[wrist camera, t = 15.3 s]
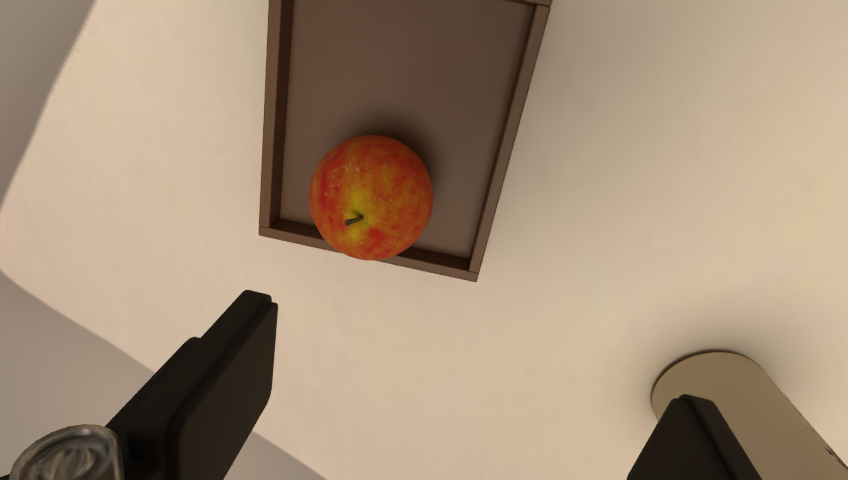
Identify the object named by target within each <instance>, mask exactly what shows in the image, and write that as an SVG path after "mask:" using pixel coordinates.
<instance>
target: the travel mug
mask: <svg viewBox="0 0 848 480" xmlns="http://www.w3.org/2000/svg"><path fill="white" fill-rule="evenodd" d="M682 394H688V395H693V396H697V397H701V398H705V399H709V400H711V401H713V402H714V403H715V404H716V406H717V408H718V409H719V411H720V412H721V414H722V416H723V417H724V419H725V420H726V422H727V424H728V425H729V427H730V428H731V430H732V432H733V433H734V435H735V437H736V438H737V440H738V441H739V443H740V445H741V446H742V448H743V449H744V451H745V453H746V454H747V456H748V457H749V459H750V461H751V462H752V464H753V465H754V467H755V469H756V470H757V472H758V474H759V475H760V477H761V478H762V480H848V467H847V466H846V465H845V464H844V463H843V461H842V460H841V459H840V458H839V457H838V456H837V455H836V453H835V452H834V451H833V450H832V449H831V448H830V447H829V445H828V444H827V443H826V442H825V441H824V440H823V438H822V437H821V436H820V435H819V434H818V433H817V432H816V430H815V429H814V428H813V427H812V426H811V425H810V423H809V422H808V421H807V420H806V419H805V418H804V417H803V415H802V414H801V413H800V412H799V411H798V410H797V408H796V407H795V406H794V405H793V404H792V403H791V402H790V400H789V399H788V398H787V397H786V396H785V395H784V393H783V392H782V391H781V390H780V389H779V388H778V387H777V385H776V384H775V383H774V382H773V381H772V380H771V379H770V377H769V376H768V375H767V374H766V373H765V372H764V370H763V369H762V368H761V367H760V366H759V365H758V364H756V363H755V362H753V361H752V360H750V359H748V358H746V357H743V356H741V355H737V354H732V353H725V352H714V353H705V354H700V355H696V356H693V357H690V358H688V359H685V360H683V361H681V362H679V363H678V364H676V365H674V366H673V367H672V368H670V369H669V370H668V371H667V372H666V373H665V374H664V375H663V376H662V377H661V378H660V380H659V381H658V383H657V384H656V386H655V388H654V391H653V395H652V408H653V411H654V414H655V416H656V418H657V420H658V422H659V420H660V418H661V417H662V415H663V413H664V411H665V410H666V408H667V406H668V404H669V403H670V401H671V400H672V399H674V398H679V396H681V395H682Z"/></svg>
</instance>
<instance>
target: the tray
mask: <svg viewBox="0 0 848 480" xmlns="http://www.w3.org/2000/svg"><path fill="white" fill-rule="evenodd" d="M552 1H553V0H269V13H268V36H267V58H266V80H265V103H264V125H263V147H262V170H261V192H260V214H259V225H260V226H259V235H260V236H264V237H269V238H274V239H278V240H283V241H287V242H292V243H297V244H301V245H306V246H311V247H315V248H320V249H324V250H329V251H334V252H338V253H341V252H339V251H338V250H336V249H334V248H333V247H332V246H331V245H329V244H328V243H327V242H326V240H325V239H324V238H323V237H322V235H321V233H320V232H319V230H318V228H317V226H316V224H315V223H314V220H313V218H312V215H311V213H310V208H309V188H310V182H311V179H312V176H313V173H314V171H315V169H316V167H317V166H318V164H319V162H320V161H321V160H322V158H323V157H324V156H325V155H326V154H327V153H328V152H329V151H330V150H331V149H332V148H333V147H335V146H336V145H338V144H340V143H341V142H343V141H345V140H348V139H350V138H353V137H357V136H362V135H379V136H385V137H389V138H392V139H395V140H397V141H399V142H401V143H403V144H404V145H406V146H407V147H409V148H410V149H411V150H412V151H413V152H414V153H415V154H417V156H418V157H419V158H420V159H421V161H422V162H423V164H424V165H425V167H426V169H427V171H428V173H429V176H430V178H431V182H432V186H433V196H434V201H433V209H432V213H431V216H430V220H429V222H428V224H427V226H426V228H425V230H424V231H423V233H422V234H421V236H420V237H419V238H418V239H417V240H416V241H415V242H414V243H413V244H412V245H411V246H410V247H408V248H407V249H406V250H404V251H403V252H401V253H399V254H397V255H395V256H393V257H390V258H386V259H381V260H375V261H380V262H385V263H389V264H394V265H398V266H403V267H408V268H412V269H417V270H422V271H426V272H431V273H435V274H440V275H445V276H449V277H454V278H459V279H463V280H468V281H472V282H476V281H477V278H478V275H479V271H480V267H481V263H482V260H483V256H484V252H485V249H486V245H487V241H488V238H489V234H490V230H491V226H492V223H493V219H494V215H495V212H496V208H497V204H498V201H499V197H500V193H501V189H502V186H503V182H504V178H505V175H506V171H507V167H508V163H509V160H510V156H511V152H512V149H513V145H514V141H515V138H516V134H517V130H518V126H519V123H520V119H521V115H522V112H523V108H524V104H525V101H526V97H527V93H528V89H529V86H530V82H531V78H532V75H533V71H534V67H535V63H536V60H537V56H538V52H539V49H540V45H541V41H542V38H543V34H544V30H545V26H546V23H547V19H548V15H549V12H550V6H551V4H552Z"/></svg>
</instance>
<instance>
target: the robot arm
mask: <svg viewBox="0 0 848 480" xmlns="http://www.w3.org/2000/svg"><path fill="white" fill-rule="evenodd" d="M277 314H278V305H277V303H274V302H272V299H271V296H270V295H267V294H263V293H259V292H255V291H251V290H245V291H243V292H242V293H241V294H240V296H239V297H238V298H237V299H236V300H235V301H234V302H233V303H232V304H231V305H230V306H229V308H228V309H227V310H226V311H225V312H224V313H223V314H222V315H221V316H220V317H219V318H218V320H217V321H216V322H215V323H214V324H213V325H212V326H211V327H210V328H209V329H208V331H207V332H206V333H205V334H204V335H203V336H202V337H201V338H198V337H192V338H190V339H189V340H187V341H186V342H185V343H184V344H183V345H182V346H181V347H180V348H179V349H178V350H177V351H176V352H175V353H174V354H173V355H172V357H171V358H170V359H169V360H168V361H167V362H166V363H165V364H164V365H163V366H162V367H161V368H160V369H159V370H158V371H157V372H156V373H155V374H154V375H153V376H152V378H151V379H150V380H149V381H148V382H147V383H146V384H145V385H144V386H143V387H142V388H141V389H140V390H139V391H138V392H137V393H136V394H135V395H134V396H133V398H132V399H131V400H130V401H129V402H128V403H127V404H126V405H125V406H124V407H123V408H122V409H121V410H120V411H119V412H118V413H117V414H116V415H115V416H114V417H113V418H112V420H111V421H110V422H109V423H108V424H107V425H106V426H105V427H103V426H99V425H88V424H82V425H76V426H70V427H66V428H63V429H60V430H57V431H54V432H52V433H50V434H48V435H46V436H44V437H42V438H41V439H39V440H37V441H35V442H34V443H33V444H32V445H31V446H29V447H28V448H27V449H26V450H24V451H23V452H22V454H21V455H20V456H19V458H18V459H17V460H16V461H15V463H14V464H13V467H12V469H11V472H10V474H8V475H5V476H2V477H0V480H223V479H224V477H225V476H226V474H227V472H228V471H229V469H230V467H231V465H232V464H233V462H234V460H235V459H236V457H237V455H238V453H239V452H240V450H241V448H242V446H243V445H244V443H245V441H246V439H247V438H248V436H249V434H250V433H251V431H252V429H253V427H254V426H255V424H256V422H257V420H258V419H259V417H260V415H261V413H262V412H263V410H264V408H265V407H266V405H267V403H268V400H269V397H270V394H271V389H272V378H273V365H274V352H275V340H276V327H277ZM627 480H762V478H761V477H760V475H759V474H758V472H757V470H756V469H755V467H754V465H753V464H752V462H751V461H750V459H749V457H748V456H747V454H746V453H745V451H744V449H743V448H742V446H741V445H740V443H739V441H738V440H737V438H736V437H735V435H734V433H733V432H732V430H731V428H730V427H729V425H728V424H727V422H726V420H725V419H724V417H723V416H722V414H721V412H720V411H719V409H718V408H717V406H716V404H715V403H714V402H713V401H711V400H709V399H705V398H701V397H697V396H693V395H688V394H682V395H681V396H679V398H674V399H672V400H671V401H670V403H669V404H668V406H667V408H666V410H665V411H664V413H663V415H662V417H661V418H660V420H659V422H658V424H657V425H656V427H655V429H654V431H653V432H652V434H651V436H650V438H649V439H648V441H647V443H646V445H645V446H644V448H643V450H642V451H641V453H640V455H639V457H638V458H637V460H636V462H635V464H634V465H633V467H632V469H631V471H630V472H629V474H628V477H627Z"/></svg>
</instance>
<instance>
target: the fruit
mask: <svg viewBox="0 0 848 480" xmlns="http://www.w3.org/2000/svg"><path fill="white" fill-rule="evenodd" d="M433 201H434V196H433V186H432V182H431V178H430V176H429V173H428V171H427V169H426V167H425V165H424V164H423V162H422V161H421V159H420V158H419V157H418V156H417V154H415V153H414V152H413V151H412V150H411V149H410V148H409V147H407V146H406V145H404V144H403V143H401V142H399V141H397V140H395V139H392V138H389V137H385V136H379V135H362V136H357V137H353V138H350V139H348V140H345V141H343V142H341V143H340V144H338V145H336V146H335V147H333V148H332V149H331V150H330V151H329V152H328V153H327V154H326V155H325V156H324V157H323V158H322V160H321V161H320V162H319V164H318V166H317V167H316V169H315V171H314V173H313V176H312V179H311V182H310V188H309V208H310V213H311V215H312V218H313V220H314V223H315V224H316V226H317V228H318V230H319V232H320V233H321V235H322V237H323V238H324V239H325V240H326V242H327V243H328V244H329V245H331V246H332V247H333V248H334V249H336V250H338V251H339V252H341V253H343V254H345V255H348V256H350V257H353V258H357V259H362V260H381V259H386V258H390V257H393V256H395V255H397V254H399V253H401V252H403V251H404V250H406V249H407V248H408V247H410V246H411V245H412V244H413V243H414V242H415V241H416V240H417V239H418V238H419V237H420V236H421V234H422V233H423V231H424V230H425V228H426V226H427V224H428V222H429V220H430V216H431V213H432V209H433Z"/></svg>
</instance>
